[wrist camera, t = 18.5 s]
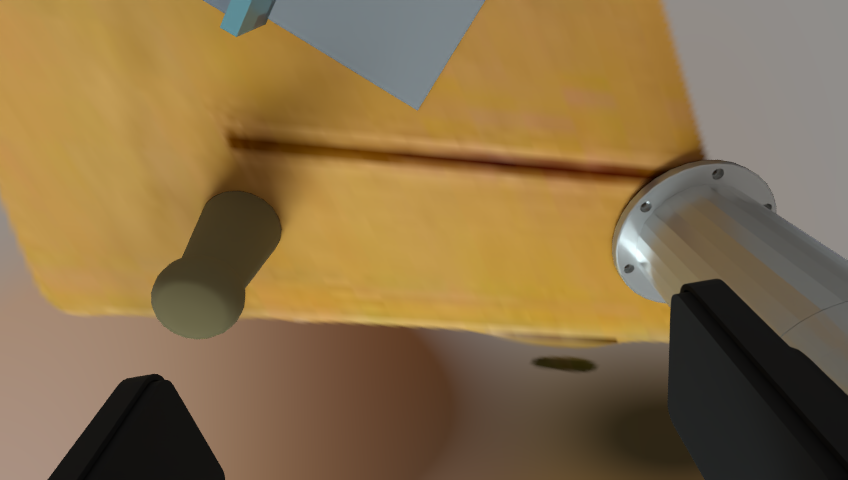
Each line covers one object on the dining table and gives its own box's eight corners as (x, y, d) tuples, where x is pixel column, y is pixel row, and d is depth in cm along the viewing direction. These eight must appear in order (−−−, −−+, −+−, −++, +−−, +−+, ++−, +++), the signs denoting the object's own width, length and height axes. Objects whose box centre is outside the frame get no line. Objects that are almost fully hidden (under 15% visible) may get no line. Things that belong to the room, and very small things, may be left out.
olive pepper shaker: (195, 188, 36) (124, 267, 27) (279, 193, 37) (238, 273, 27) (205, 258, 39) (143, 353, 30) (283, 262, 40) (247, 357, 30)
